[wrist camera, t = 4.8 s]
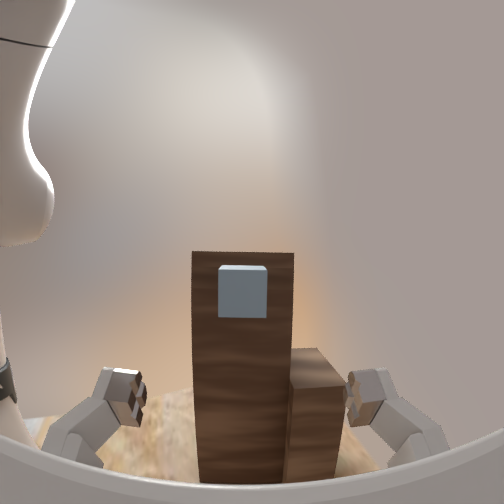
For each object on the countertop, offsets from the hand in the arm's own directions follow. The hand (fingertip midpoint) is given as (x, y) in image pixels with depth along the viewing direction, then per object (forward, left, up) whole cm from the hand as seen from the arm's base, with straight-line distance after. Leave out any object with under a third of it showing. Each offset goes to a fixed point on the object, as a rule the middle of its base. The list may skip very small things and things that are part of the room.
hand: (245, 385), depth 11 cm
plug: (+16, +14, +1) cm, 21 cm away
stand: (+21, +14, -23) cm, 34 cm away
